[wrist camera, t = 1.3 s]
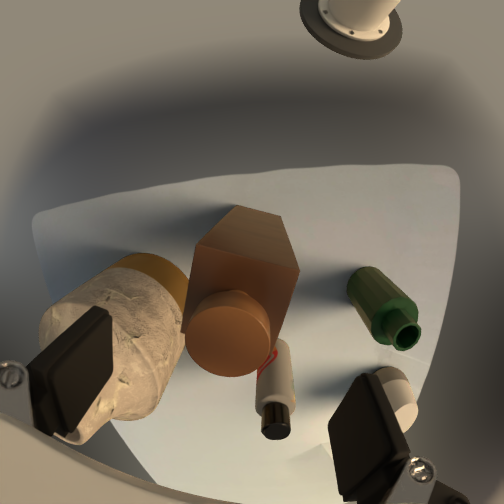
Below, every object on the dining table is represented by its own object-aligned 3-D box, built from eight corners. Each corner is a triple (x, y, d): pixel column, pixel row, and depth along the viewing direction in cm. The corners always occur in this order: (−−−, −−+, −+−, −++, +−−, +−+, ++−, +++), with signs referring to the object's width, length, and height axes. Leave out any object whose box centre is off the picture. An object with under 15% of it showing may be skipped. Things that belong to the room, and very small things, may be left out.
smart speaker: (405, 380, 51) (429, 423, 38) (370, 401, 53) (387, 446, 39) (394, 354, 49) (422, 398, 36) (355, 377, 51) (374, 426, 37)
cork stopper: (209, 265, 19) (191, 295, 14) (277, 282, 19) (281, 318, 14) (197, 324, 20) (179, 365, 15) (259, 339, 20) (257, 384, 15)
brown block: (236, 204, 43) (195, 243, 18) (280, 216, 44) (300, 270, 18) (226, 247, 45) (179, 333, 20) (269, 258, 45) (271, 356, 20)
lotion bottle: (252, 346, 50) (244, 430, 30) (278, 332, 49) (283, 414, 29) (269, 366, 51) (269, 450, 32) (295, 353, 50) (306, 436, 30)
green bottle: (355, 261, 45) (396, 305, 28) (390, 271, 45) (440, 315, 29) (340, 300, 47) (371, 358, 30) (376, 308, 47) (415, 363, 30)
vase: (92, 300, 49) (-10, 390, 20) (137, 231, 45) (-1, 304, 16) (162, 360, 52) (100, 483, 22) (218, 302, 48) (165, 449, 18)
